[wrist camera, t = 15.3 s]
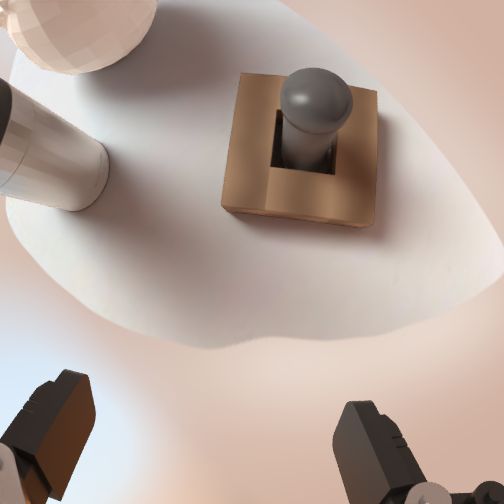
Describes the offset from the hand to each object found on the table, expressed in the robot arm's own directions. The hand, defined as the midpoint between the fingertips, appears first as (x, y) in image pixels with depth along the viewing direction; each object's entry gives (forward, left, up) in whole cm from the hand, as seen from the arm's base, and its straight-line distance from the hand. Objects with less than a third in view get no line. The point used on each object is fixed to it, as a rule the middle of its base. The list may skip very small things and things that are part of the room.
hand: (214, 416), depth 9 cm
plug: (+3, +16, -24) cm, 29 cm away
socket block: (+3, +16, -24) cm, 29 cm away
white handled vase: (-24, +32, -24) cm, 47 cm away
